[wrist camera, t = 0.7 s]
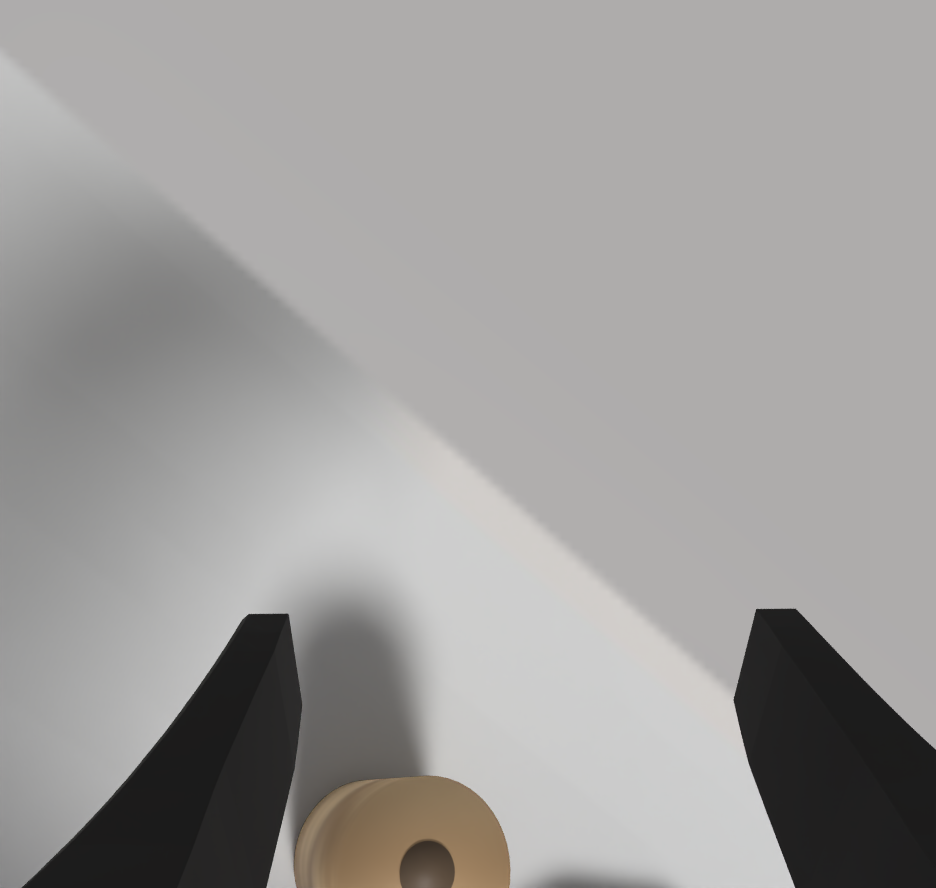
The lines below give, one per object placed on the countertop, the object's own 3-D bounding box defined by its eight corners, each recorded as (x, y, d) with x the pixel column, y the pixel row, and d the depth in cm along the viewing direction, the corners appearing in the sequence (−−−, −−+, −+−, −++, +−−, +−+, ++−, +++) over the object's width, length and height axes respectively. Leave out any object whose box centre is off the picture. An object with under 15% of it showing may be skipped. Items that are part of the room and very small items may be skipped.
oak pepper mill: (424, 947, 26) (501, 985, 20) (279, 932, 24) (321, 970, 19) (443, 790, 27) (519, 789, 22) (310, 770, 26) (356, 763, 21)
